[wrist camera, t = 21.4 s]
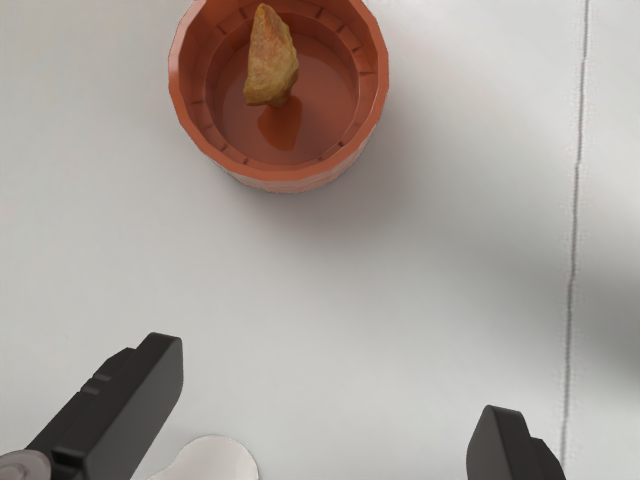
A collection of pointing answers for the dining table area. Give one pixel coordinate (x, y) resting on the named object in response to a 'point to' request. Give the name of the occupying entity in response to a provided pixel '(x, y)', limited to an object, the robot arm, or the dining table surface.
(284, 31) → the stone tool
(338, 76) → the mixing bowl
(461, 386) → the dining table surface
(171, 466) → the vase
